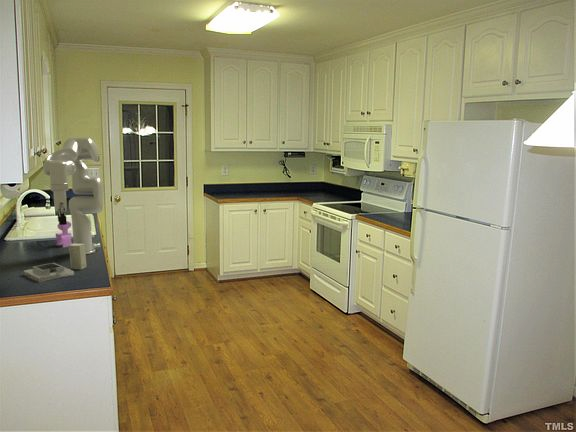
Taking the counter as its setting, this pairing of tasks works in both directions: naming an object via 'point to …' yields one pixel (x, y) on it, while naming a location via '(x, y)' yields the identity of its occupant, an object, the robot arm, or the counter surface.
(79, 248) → the skincare box
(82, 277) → the counter surface
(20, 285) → the counter surface
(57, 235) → the toy chair
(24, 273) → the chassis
